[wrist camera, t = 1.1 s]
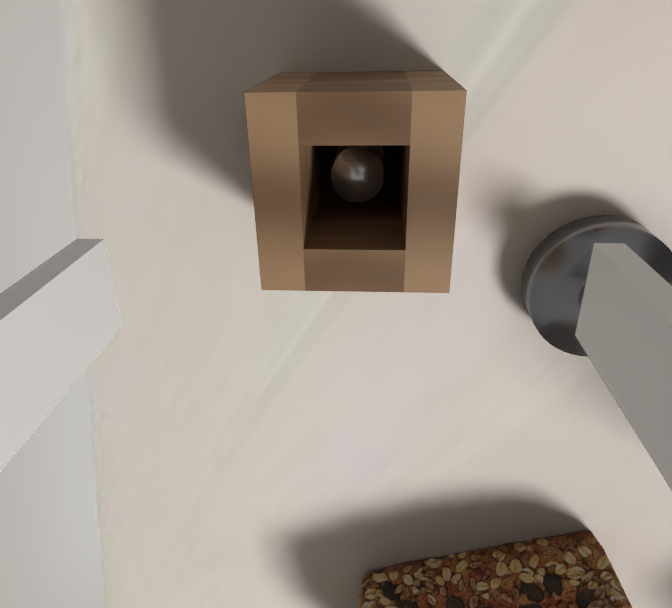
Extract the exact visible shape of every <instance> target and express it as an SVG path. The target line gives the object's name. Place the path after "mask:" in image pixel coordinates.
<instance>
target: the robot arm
mask: <svg viewBox="0 0 672 608" xmlns="http://www.w3.org/2000/svg"><path fill="white" fill-rule="evenodd" d="M122 327H123V323H122V319H121V314H120V310H119V305H118V301H117V296H116V292H115V287H114V283H113V278H112V274H111V269H110V265H109V260H108V256H107V251H106V247H105V242H104V239H76V240H75V241H73V242H72V243H71V244H69V245H68V246H66V247H65V248H64V249H62V250H61V251H59V252H58V253H57V254H55V255H54V256H52V257H51V258H50V259H48V260H47V261H45V262H44V263H43V264H41V265H40V266H38V267H37V268H36V269H34V270H33V271H31V272H30V273H29V274H28V275H26V276H25V277H23V278H22V279H20V280H19V281H18V282H16V283H15V284H13V285H12V286H11V287H9V288H8V289H6V290H5V291H4V292H2V293H1V294H0V471H1V470H2V469H3V468H4V467H5V466H6V464H7V463H8V462H9V461H10V459H11V458H12V457H13V456H14V455H15V454H16V453H17V451H18V450H19V449H20V448H21V447H22V445H23V444H24V443H25V442H26V441H27V440H28V438H29V437H30V436H31V435H32V433H33V432H34V431H35V430H36V429H37V428H38V427H39V425H40V424H41V423H42V422H43V421H44V419H45V418H46V417H47V416H48V415H49V413H50V412H51V411H52V410H53V409H54V408H55V406H56V405H57V404H58V403H59V402H60V400H61V399H62V398H63V397H64V396H65V394H66V393H67V392H68V391H69V390H70V389H71V387H72V386H73V385H74V384H75V383H76V381H77V380H78V379H79V378H80V377H81V376H82V374H83V373H84V372H85V371H86V370H87V368H88V367H89V366H90V365H91V364H92V363H93V361H94V360H95V359H96V358H97V357H98V355H99V354H100V353H101V352H102V351H103V350H104V348H105V347H106V346H107V345H108V344H109V342H110V341H111V340H112V339H113V338H114V337H115V335H116V334H117V333H118V332H119V331H120V329H121V328H122ZM575 336H576V338H577V339H578V341H579V342H580V344H581V346H582V347H583V349H584V350H585V352H586V354H587V355H588V357H589V359H590V360H591V362H592V363H593V365H594V367H595V368H596V370H597V371H598V373H599V375H600V376H601V378H602V379H603V381H604V383H605V384H606V386H607V387H608V389H609V391H610V392H611V394H612V395H613V397H614V399H615V400H616V402H617V403H618V405H619V407H620V408H621V410H622V412H623V413H624V415H625V416H626V418H627V420H628V421H629V423H630V424H631V426H632V428H633V429H634V431H635V432H636V434H637V436H638V437H639V439H640V440H641V442H642V444H643V445H644V447H645V448H646V450H647V452H648V453H649V455H650V456H651V458H652V460H653V461H654V463H655V465H656V466H657V468H658V469H659V471H660V473H661V474H662V476H663V477H664V479H665V481H666V482H667V484H668V485H669V487H670V489H671V490H672V286H671V285H670V284H669V283H668V282H667V281H666V280H665V279H664V278H662V277H661V276H660V275H659V274H658V273H657V272H656V271H655V270H654V269H652V268H651V267H650V266H649V265H648V264H647V263H646V262H645V261H644V260H643V259H641V258H640V257H639V256H638V255H637V254H636V253H635V252H634V251H633V250H631V249H630V248H629V247H628V246H627V245H626V244H625V243H594V246H593V251H592V256H591V260H590V265H589V270H588V275H587V280H586V285H585V289H584V294H583V299H582V304H581V309H580V313H579V318H578V323H577V328H576V333H575Z"/></svg>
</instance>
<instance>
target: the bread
mask: <svg viewBox="0 0 672 608" xmlns="http://www.w3.org/2000/svg"><path fill="white" fill-rule="evenodd" d="M360 587H361V593H360V601H359V605H358V608H632V606H631V604H630V602H629V600H628V599H627V597H626V594H625V592H624V590H623V588H622V586H621V584H620V582H619V579H618V577H617V575H616V573H615V571H614V569H613V567H612V565H611V563H610V561H609V559H608V558H607V555H606V553H605V550H604V549H603V548H602V546H601V545H600V543H599V542H598V541H597V539H596V538H595V536H594V535H593V533H592V532H587V531H585V530H584V531H577V532H571V533H568V534H567V535H566V536H556V537H548V538H536V539H532V540H530V541H528V542H526V543H525V542H513V543H506V544H504V545H502V546H501V547H491V548H488V549H478V550H475V551H465V552H462V553H459V554H450V555H448V556H447V557H445V558H444V559H439V560H438V559H434V558H430V559H426V560H422V561H415V562H408V563H405V564H402V565H399V566H391V567H388V568H386V569H385V570H384V571H383V572H382V573H379V572H371V573H369V574H367V575H366V576H365V577H363V578H362V583H361V585H360Z"/></svg>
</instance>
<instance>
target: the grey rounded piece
mask: <svg viewBox="0 0 672 608" xmlns="http://www.w3.org/2000/svg"><path fill="white" fill-rule="evenodd" d="M331 181H332V185H333V187H334V189H335V191H336V192H337V193H338V194H339V195H340V196H341V197H342V198H344V199H346V200H348V201H351V202H364V201H368V200H370V199H371V198H373V197H374V196H375V195H377V193H378V192H379V191H380V189H381V187H382V185H383V182H384V151H383V147H382V145H345V146H339V149H338V152H337V155H336V158H335V161H334V164H333V167H332V171H331Z"/></svg>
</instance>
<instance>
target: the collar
mask: <svg viewBox="0 0 672 608" xmlns="http://www.w3.org/2000/svg"><path fill="white" fill-rule="evenodd" d="M466 91H467V90H466V89H464V88H463V87H462V86H461V85H460V84H459V83H457V82H456V81H455V80H454V79H453V78H452V77H450V76H449V75H448V74H447V73H446V72H445V71H394V72H315V73H279V74H277V75H275V76H273V77H272V78H270V79H268V80H266V81H264V82H262V83H261V84H259V85H257V86H255V87H253V88H252V89H250V90H248V91H246V92H244V97H245V109H246V120H247V131H248V142H249V153H250V165H251V176H252V187H253V198H254V210H255V221H256V232H257V243H258V255H259V266H260V277H261V288H262V290H302V291H364V292H426V293H449V289H450V277H451V266H452V254H453V242H454V231H455V219H456V207H457V196H458V184H459V173H460V161H461V149H462V138H463V126H464V115H465V103H466ZM345 145H402V146H401V173H400V194H377V195H375V196H374V197H373V198H371V199H370V200H368V201H364V202H351V201H348V200H346V199H344V198H342V197H341V196H340V195H339V194H322V185H321V152H320V146H345Z"/></svg>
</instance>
